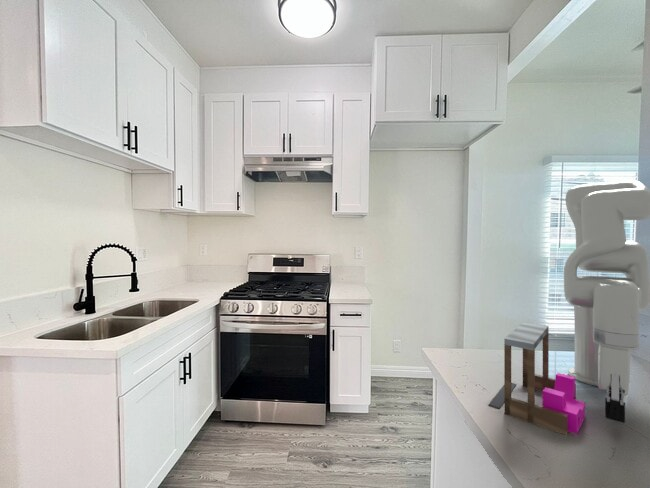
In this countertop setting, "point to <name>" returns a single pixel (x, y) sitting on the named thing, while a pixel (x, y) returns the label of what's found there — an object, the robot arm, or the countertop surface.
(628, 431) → the countertop surface
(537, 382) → the tunnel
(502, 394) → the dark grey flat bar
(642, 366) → the countertop surface
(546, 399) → the toy block
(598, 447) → the countertop surface
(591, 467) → the countertop surface
